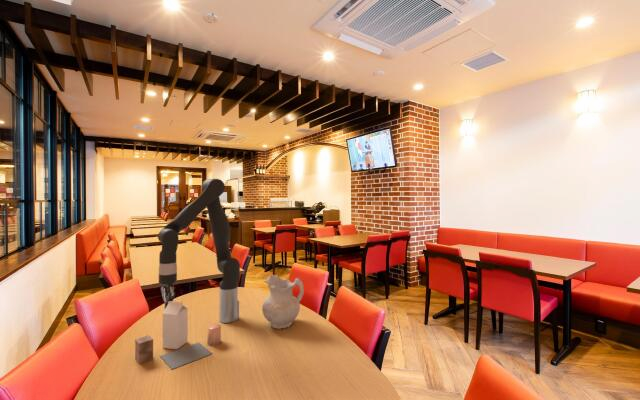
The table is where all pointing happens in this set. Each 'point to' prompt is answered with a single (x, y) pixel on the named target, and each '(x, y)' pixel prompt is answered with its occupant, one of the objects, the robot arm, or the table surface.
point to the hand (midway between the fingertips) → (167, 309)
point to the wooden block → (143, 349)
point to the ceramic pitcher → (282, 302)
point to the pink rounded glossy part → (214, 335)
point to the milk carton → (175, 325)
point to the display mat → (185, 355)
